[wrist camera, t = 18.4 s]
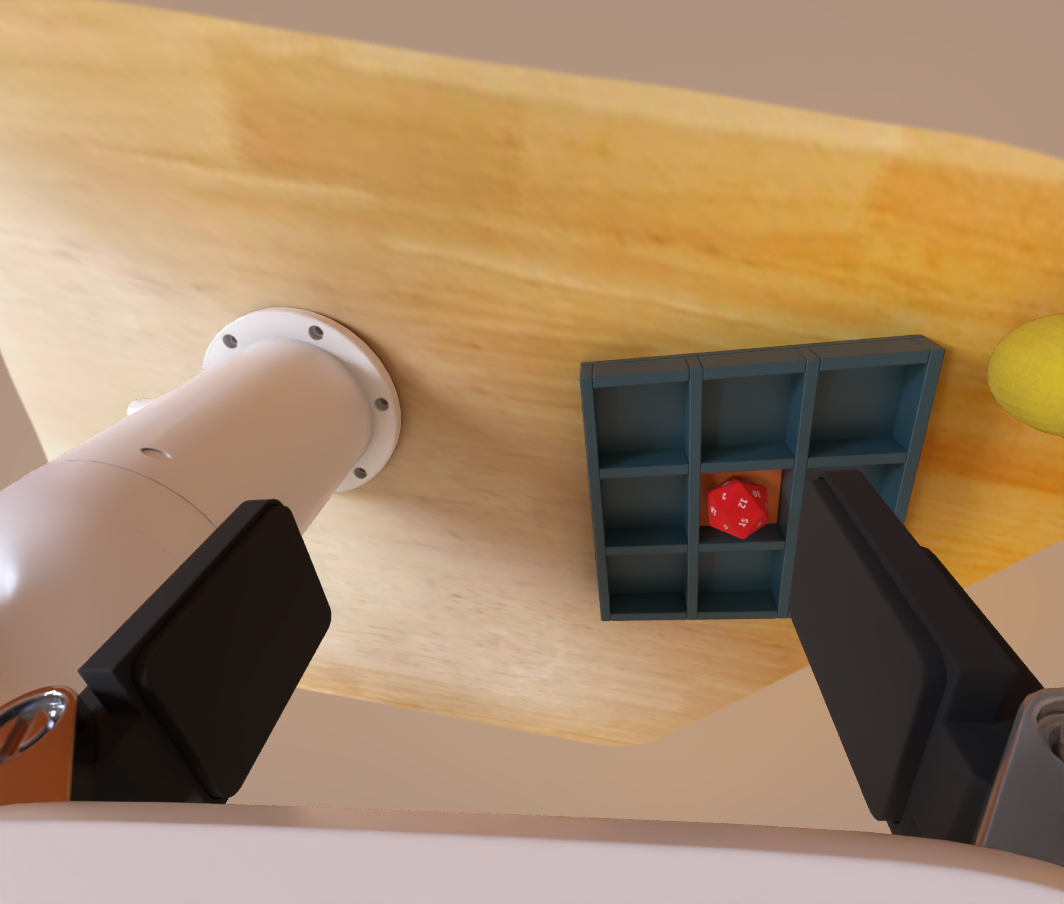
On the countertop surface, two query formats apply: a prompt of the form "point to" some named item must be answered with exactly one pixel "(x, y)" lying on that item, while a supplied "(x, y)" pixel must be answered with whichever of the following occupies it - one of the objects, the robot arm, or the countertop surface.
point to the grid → (739, 462)
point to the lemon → (1032, 374)
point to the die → (738, 507)
